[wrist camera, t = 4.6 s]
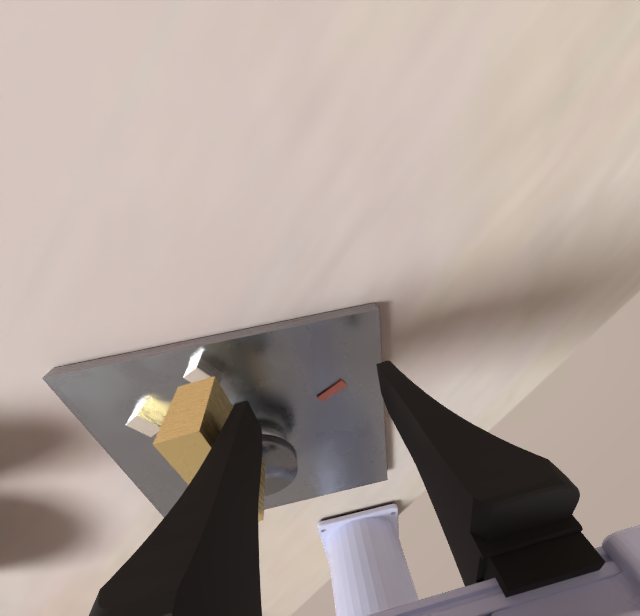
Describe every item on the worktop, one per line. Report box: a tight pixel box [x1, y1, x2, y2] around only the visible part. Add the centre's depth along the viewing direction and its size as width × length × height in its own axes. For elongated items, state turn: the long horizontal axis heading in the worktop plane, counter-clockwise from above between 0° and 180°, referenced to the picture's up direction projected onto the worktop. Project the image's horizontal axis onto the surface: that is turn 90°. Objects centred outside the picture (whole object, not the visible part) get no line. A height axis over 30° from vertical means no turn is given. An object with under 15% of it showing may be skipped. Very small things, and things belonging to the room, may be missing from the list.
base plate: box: [42, 303, 387, 518], centre depth 18 cm, size 17×18×2 cm
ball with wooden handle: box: [153, 376, 298, 521], centre depth 14 cm, size 11×5×4 cm, turn 14°
